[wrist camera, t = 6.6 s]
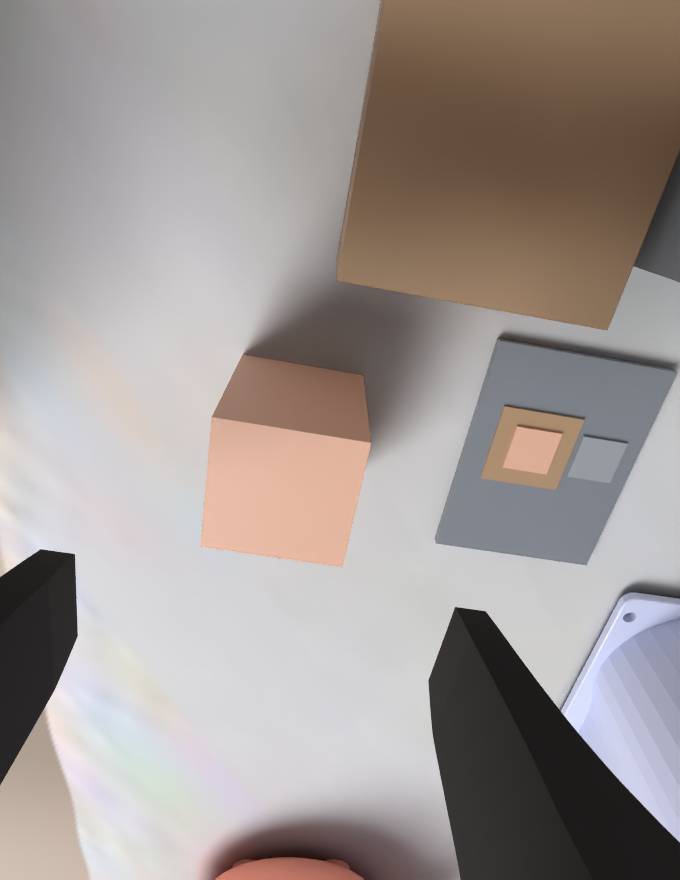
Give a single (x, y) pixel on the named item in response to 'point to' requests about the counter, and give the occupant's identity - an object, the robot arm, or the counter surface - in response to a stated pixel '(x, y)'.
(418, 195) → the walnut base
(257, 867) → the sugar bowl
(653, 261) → the grey block
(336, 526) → the terracotta block
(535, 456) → the tile
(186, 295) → the counter surface
